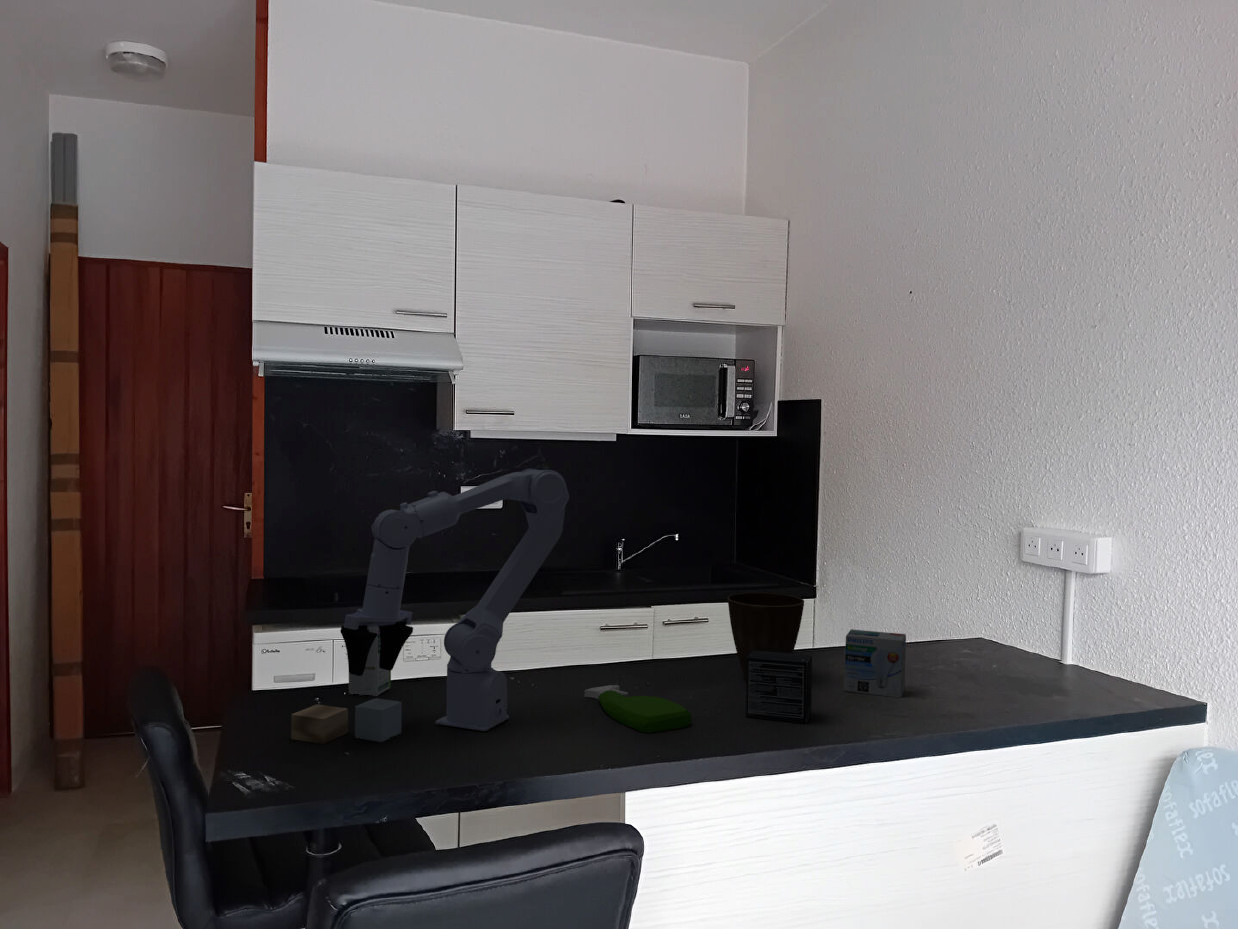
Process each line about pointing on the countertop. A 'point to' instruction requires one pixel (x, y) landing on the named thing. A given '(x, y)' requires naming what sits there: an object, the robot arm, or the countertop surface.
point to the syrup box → (371, 672)
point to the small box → (779, 686)
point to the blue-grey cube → (378, 719)
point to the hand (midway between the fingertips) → (371, 671)
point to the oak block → (319, 723)
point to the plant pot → (764, 623)
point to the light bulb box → (875, 663)
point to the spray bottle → (640, 710)
